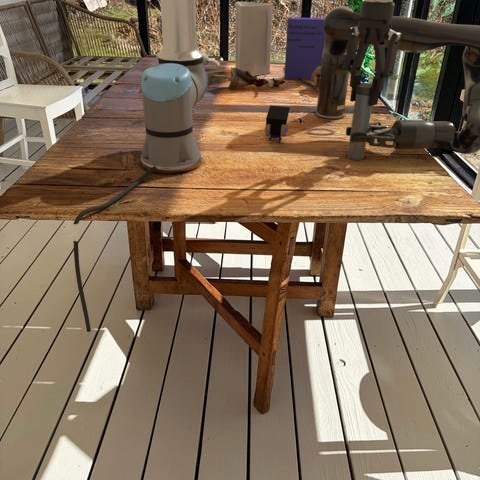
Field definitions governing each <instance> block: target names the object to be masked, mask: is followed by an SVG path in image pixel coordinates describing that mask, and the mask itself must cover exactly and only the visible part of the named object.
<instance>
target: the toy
mask: <svg viewBox="0 0 480 480" xmlns="http://www.w3.org/2000/svg"><path fill="white" fill-rule="evenodd" d="M160 52H161V51H159V52H157V53H156V54H155V55H156V56H155V66H156V65H158V64H159V63H158V54H159V53H160ZM200 52H201V53H202V54H203V66H207V65H209V64H214V65H215V67H216V66H217V67H218V68H219V67H220V66H221V63H220V62H219V60H216V59H215V58H209V56H208V55H207V54H204V53H203V52H202V51H200Z"/></svg>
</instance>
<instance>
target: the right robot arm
mask: <svg viewBox="0 0 480 480" xmlns="http://www.w3.org/2000/svg"><path fill="white" fill-rule="evenodd" d="M324 18H325V19H324V23H323V28H324V31H325V42H324V48H323V52H322V59H321V70H320V81H319V91H318V92H317V100H316V101H317V102H316V110H315V116H317V117H319V118H322V119H327V120H339V119H343V118H344V117H345V108H346V103H347V102H346V101H347V92H348V85H349V79H350V78H349V77H350V72H349V71H348V70H345V60H346V53H347V45H348V33H347V29H348V28H351V27H356V26H358V24H359V22H360V12H355V11H354V10H353V9H352V8H351V7H349V6H346V5H338V6H335V7H334V8H332V9H331V10H330V11H328V13H327V14H326V16H325V17H324ZM391 26H392V30H393V31H395V32H397V33H399V32H400V33H401V34H402V37H401V39H400V41H399V43H398V47H397V51H401V52H406V53H412V54H420V53H425V52H429V51H432V50H434V49H438V48H441V47H445V46H446V47H447V46H461V47H465V48H464V49H463V53H462V67H463V72H464V93H463V101H462V113H461V114H462V115H461V116H462V118H463V120H464V121H465V124H464V125H463V127H462V128H461V130H460V131H456V127H455V124H453V122H451V121H443V120H439V121H437V120H435V121H434V120H432V121H431V120H425V119H424V120H422V119H397V120H395V121H394V122H393V125H392V126H388V125H387V124H382V122H380V121H377V122H369V128H368V133H366V134H365V133H351V126H347V127H345V136H347V137H349V140H350V141H351V142H365V143H366V145H367V144H368V146H369V147H376V148H377V147H378V148H387V149H394V150H427V149H444V150H447V151H450V152H454V153H457V154H458V153H459V154H463V155H471V154H475V153H477V152H479V151H480V25H476V24H475V25H474V24H459V23H458V24H457V23H447V22H440V21H433V20H427V19H421V18H416V17H411V16H400V15H399V16H395V15H393V18H392V21H391ZM360 38H361V36H360V33H359V34H358V42H357V43H359V41H360ZM388 38H389V35H388V36H387V38H386V39H385V44H386V46H385V49H387V47H388V43H389V40H388ZM379 45H380V44H379ZM295 80H297V81H300V82H301V83H303V84H305V85H307V86H309V87H311V88H313V89H314V90H316V88H315V87H313V83H310V82H308V80H307V81H306V79H301V78H299V77H296V79H295ZM350 133H351V135H350Z"/></svg>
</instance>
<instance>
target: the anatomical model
mask: <svg viewBox="0 0 480 480" xmlns="http://www.w3.org/2000/svg"><path fill="white" fill-rule="evenodd" d="M320 70H321V66H319V67H317V68H316V70H315V71H314V72H313V73H312V75H311V80H310V82H311V84H312V85H313V87H315V88H316V89H315V92H316V93H318V91H319V81H320ZM313 87H312V88H313Z"/></svg>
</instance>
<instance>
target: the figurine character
mask: <svg viewBox="0 0 480 480" xmlns="http://www.w3.org/2000/svg"><path fill="white" fill-rule="evenodd" d="M289 113H290V107H289V106H282V105H281V106H280V105H269V109H268V111H267V115H266V118H265V129H264V137H269V138H268V142H269V143H272V139H275V140H276V139H278V143H281V142H282V139H283V138H285V137H286V134H287V133H288V132H289V129H288V126H287V125H288V119H289Z"/></svg>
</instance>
